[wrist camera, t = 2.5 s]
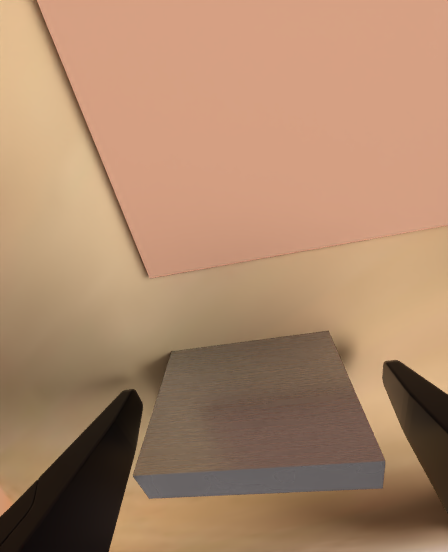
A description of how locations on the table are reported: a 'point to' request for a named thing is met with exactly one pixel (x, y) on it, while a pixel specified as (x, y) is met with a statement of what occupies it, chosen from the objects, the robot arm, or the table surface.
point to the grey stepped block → (258, 423)
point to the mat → (262, 120)
